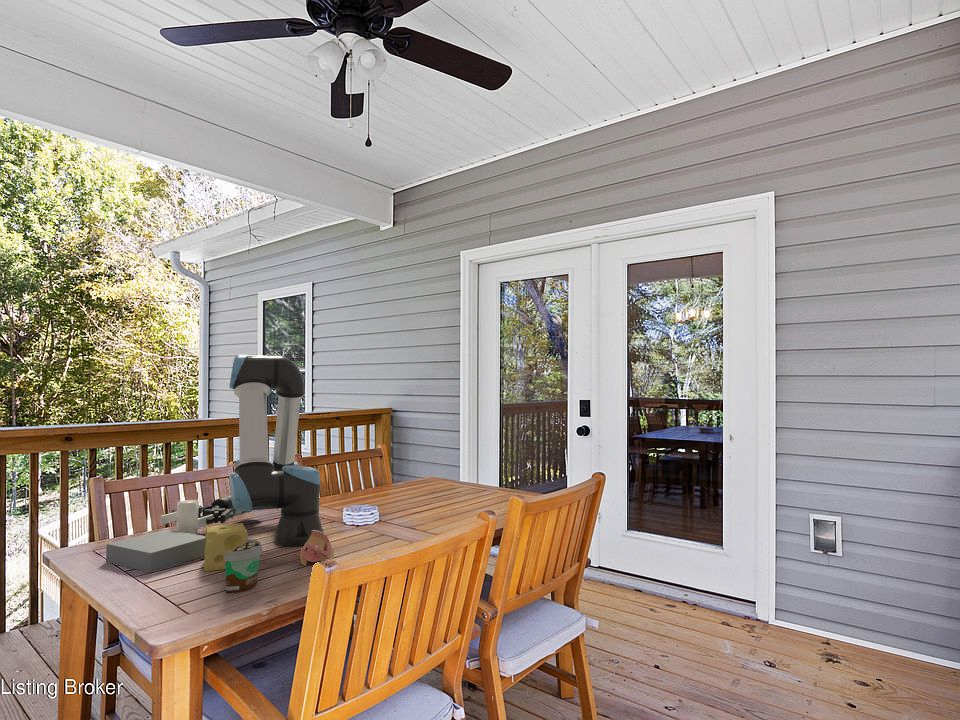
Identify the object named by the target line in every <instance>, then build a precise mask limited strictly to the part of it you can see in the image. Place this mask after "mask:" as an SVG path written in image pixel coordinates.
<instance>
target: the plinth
mask: <svg viewBox="0 0 960 720" xmlns="http://www.w3.org/2000/svg"><path fill="white" fill-rule="evenodd" d="M105 551H106V552H105V563H106V562H109V563H108V564H110V563H113V564H112V565H115V564H117V565H116V566H119V565H121V566H120V567H123V566H125V567H124V568H128V567H129V569H133V570H136V571H141V572H146V573H148V574H149V573H153V572H157V571H160V570H163V569H166V568H170V567H173V566H176V565H179V564H182V562H183V563H185V562H189V561H192V560H195V559H198V558H201V557H204V554H205V535H200V534H197V535H195V534H190V533H184V532H179V531H176V530H172V529H167V528H166V529H163V530H159V531H154V532H151V533H146V534H142V535H138V536H134V537H130V538H125V539H121V540H117V541H113V542H110V543H106V550H105ZM175 564H176V565H175ZM172 565H173V566H172ZM169 566H170V567H169Z"/></svg>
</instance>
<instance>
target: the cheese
mask: <svg viewBox="0 0 960 720" xmlns="http://www.w3.org/2000/svg"><path fill="white" fill-rule="evenodd" d="M204 532H205V534H204V536H205V554H204V556H203V557H204V559H203V560H204V568H203V569H204V572H214V571H220V570H221V571H222V570H226V561H224V559H225V555H226V552H232V551H234V550H235V549H236V548H237V547H239V546H242V545H244V544H245V543H246V539H249V534H248V530H247V528H246V527H245V525H244V523H243V522H242V523H239V522H238V523H229V524H221V525H220V524H219V525H218V524H217V525H207V526H205V531H204Z"/></svg>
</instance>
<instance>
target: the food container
mask: <svg viewBox="0 0 960 720" xmlns="http://www.w3.org/2000/svg"><path fill="white" fill-rule="evenodd" d="M263 553H264V551H263V545H262V544H261V541H259V540H257V539H252V538H251V539H250V538H248V539H246V543H245V544H244V545H242V546H239V547H237V548H236V549H235V550H234V551H232V552H226V555H225V559H224V561H226V569H225V594H226V595H227V594H229V595H231V594H238V593H245V592H247V591H251V590H253V589H254V588H256V586H257V582H258V574H259V566H260V565H259V564H260V556H261V555H262V554H263Z"/></svg>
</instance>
